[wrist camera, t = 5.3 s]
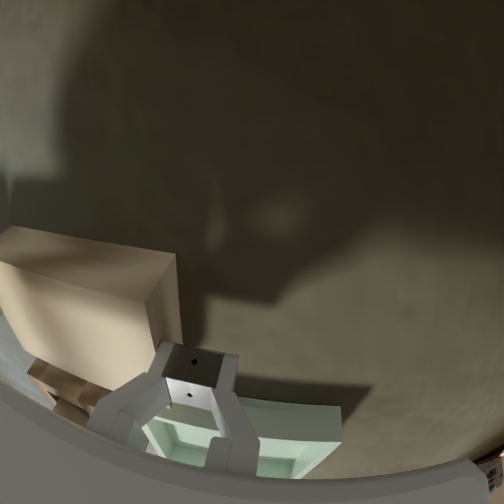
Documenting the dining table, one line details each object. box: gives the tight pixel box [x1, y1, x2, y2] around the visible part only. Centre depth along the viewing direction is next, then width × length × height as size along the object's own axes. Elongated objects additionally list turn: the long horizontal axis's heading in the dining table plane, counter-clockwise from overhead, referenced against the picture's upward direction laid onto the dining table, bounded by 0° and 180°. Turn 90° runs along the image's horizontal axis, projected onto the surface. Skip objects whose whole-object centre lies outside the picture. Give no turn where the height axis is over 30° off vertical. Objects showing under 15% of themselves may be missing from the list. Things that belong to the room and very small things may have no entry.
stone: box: [476, 457, 504, 495], centre depth 25 cm, size 13×6×10 cm, turn 82°
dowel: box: [53, 398, 90, 428], centre depth 15 cm, size 3×3×10 cm
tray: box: [142, 396, 342, 479], centre depth 17 cm, size 12×12×2 cm
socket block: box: [27, 357, 113, 416], centre depth 18 cm, size 7×7×2 cm
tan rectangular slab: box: [0, 225, 183, 409], centre depth 11 cm, size 10×7×3 cm
